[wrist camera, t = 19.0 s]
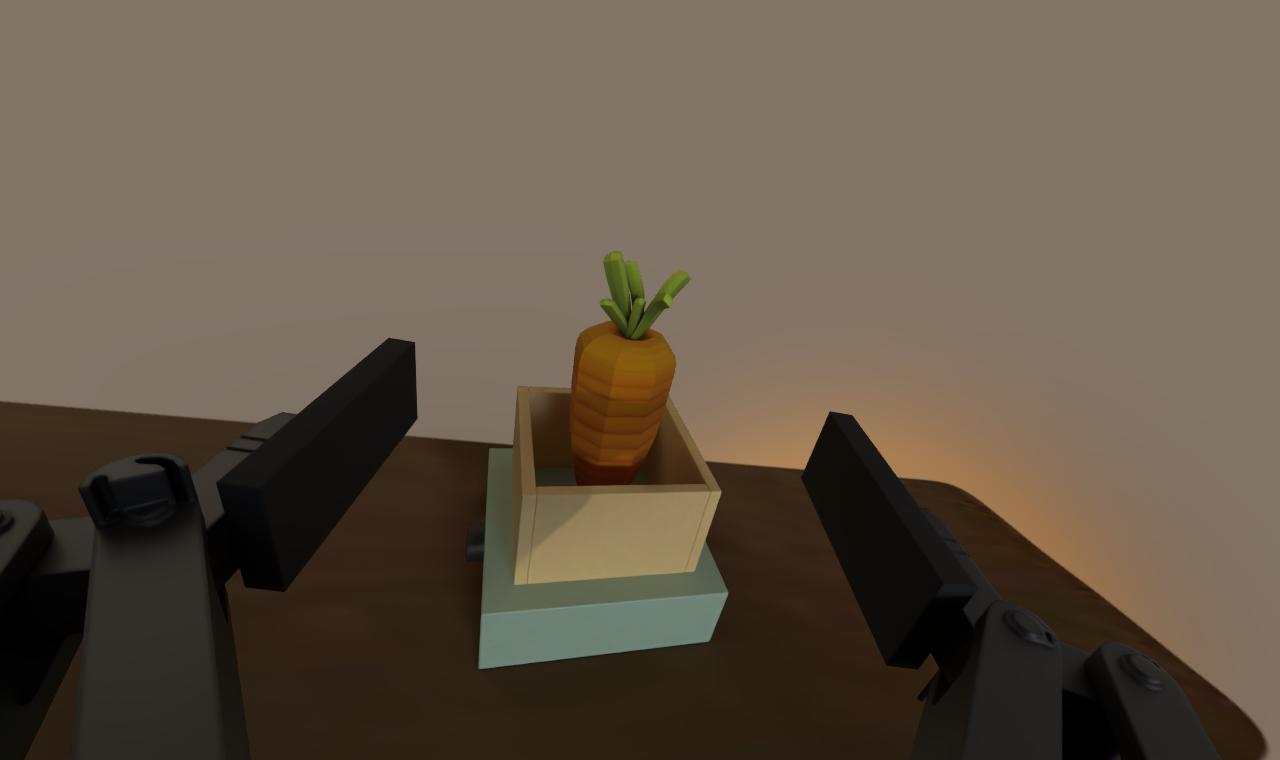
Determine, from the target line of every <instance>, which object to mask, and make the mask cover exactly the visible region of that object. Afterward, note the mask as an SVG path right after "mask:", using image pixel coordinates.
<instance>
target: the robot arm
mask: <svg viewBox="0 0 1280 760" xmlns="http://www.w3.org/2000/svg"><path fill="white" fill-rule="evenodd" d="M415 361H416V360H415V342H410V341H404V340H399V339H392V338H388V339H387V340H386V341H385V342H383V343H382V344H381V345H380V346H379V347H377V348H376V349H375V350H374V351H373V352H371V353H370V354H369V355H368V356H367V357H365V358H364V359H363V360H362V361H361V362H359V363H358V364H357V365H356V366H355V367H353V368H352V369H351V370H350V371H349V372H347V373H346V374H345V375H344V376H343V377H342V378H340V379H339V380H338V381H337V382H336V383H334V384H333V385H332V386H331V387H329V388H328V389H327V390H326V391H325V392H324V393H322V394H321V395H320V396H319V397H318V398H316V399H315V400H314V401H313V402H312V403H310V404H309V405H308V406H307V407H306V408H304V409H303V410H302V411H301V412H300V413H298V414H291V413H284V412H282V413H279V414H277V415H275V416H272V417H270V418H268V419H265V420H263V421H261V422H259V423H257V424H256V425H255V426H253V427H252V428H251V429H249V430H248V431H247V432H246V433H244V434H243V435H242V437H241V439H240V438H238V439H237V440H235V441H234V442H233V443H231V444H230V445H229V446H227V449H226V450H222V451H221V452H220V453H218V454H217V455H216V456H215V457H213V458H212V459H211V460H209V461H208V462H207V463H205V464H204V465H203V466H202V467H200V468H199V469H198V470H196V471H195V472H194V473H193V474H190V470H189V467H188V464H187V463H186V461H185V460H184V458H183V457H180V456H178V455H175V454H172V453H160V452H154V453H145V454H136V455H133V456H129V457H125V458H121V459H118V460H115V461H112V462H110V463H108V464H106V465H104V466H101V467H99V468H97V469H96V470H94V471H93V472H92V473H90V474H89V475H88V476H86V477H85V478H84V479H83V480H82V482H81V484H80V486H79V487H78V490H79V492H80V494H81V496H82V498H83V501H84V503H85V505H86V507H87V509H88V512H89V514H90V516H91V517H79V518H67V519H55V520H48V519H47V517H46V515H45V513H44V511H43V509H42V508H41V507H40V506H39V504H38V503H37V502H34V501H30V500H26V499H2V500H0V760H24V758H25V756H26V754H27V752H28V750H29V748H30V746H31V744H32V742H33V740H34V738H35V736H36V734H37V732H38V730H39V728H40V726H41V724H42V721H43V719H44V717H45V715H46V713H47V711H48V709H49V707H50V705H51V703H52V701H53V699H54V697H55V695H56V693H57V691H58V689H59V686H60V684H61V682H62V680H63V678H64V676H65V674H66V672H67V670H68V668H69V666H70V664H71V662H72V660H73V658H74V656H75V654H76V652H77V649H78V647H79V645H80V643H81V641H82V639H83V643H82V653H81V662H80V672H79V681H78V691H77V700H76V710H75V719H74V729H73V738H72V748H71V757H70V760H251V758H250V750H249V743H248V736H247V729H246V722H245V715H244V708H243V700H242V693H241V686H240V679H239V672H238V665H237V658H236V650H235V643H234V636H233V629H232V622H231V615H230V607H229V600H228V594H227V590H226V587H225V583H226V582H227V581H228V580H229V579H230V578H231V577H232V575H233V574H234V573H235V572H236V571H237V570H238V569H239V568H240V570H241V574H242V577H243V581H244V585H245V587H247V588H255V589H264V590H272V591H280V592H285V591H286V589H287V588H288V587H289V586H290V584H291V583H292V582H293V580H294V579H295V578H296V576H297V575H298V574H299V573H300V571H301V570H302V569H303V567H304V566H305V565H306V563H307V562H308V561H309V559H310V558H311V557H312V556H313V554H314V553H315V552H316V550H317V549H318V548H319V546H320V545H321V544H322V542H323V541H324V540H325V539H326V537H327V536H328V535H329V533H330V532H331V531H332V529H333V528H334V527H335V526H336V524H337V523H338V522H339V520H340V519H341V518H342V516H343V515H344V514H345V512H346V511H347V510H348V509H349V507H350V506H351V505H352V503H353V502H354V501H355V499H356V498H357V497H358V496H359V494H360V493H361V492H362V490H363V489H364V488H365V486H366V485H367V484H368V482H369V481H370V480H371V479H372V477H373V476H374V475H375V473H376V472H377V471H378V469H379V468H380V467H381V466H382V464H383V463H384V462H385V460H386V459H387V458H388V456H389V455H390V454H391V452H392V451H393V450H394V449H395V447H396V446H397V445H398V443H399V442H400V441H401V439H402V438H403V437H404V436H405V434H406V433H407V432H408V430H409V429H410V428H411V426H412V425H413V423H414V422H415V421H416V420H417V392H416V362H415ZM801 479H802V481H803V483H804V485H805V487H806V490H807V492H808V494H809V496H810V498H811V501H812V503H813V505H814V507H815V509H816V512H817V514H818V516H819V518H820V520H821V523H822V525H823V527H824V529H825V531H826V534H827V536H828V538H829V540H830V542H831V545H832V547H833V549H834V551H835V553H836V556H837V558H838V560H839V562H840V564H841V567H842V569H843V571H844V573H845V575H846V578H847V580H848V582H849V584H850V586H851V588H852V591H853V593H854V595H855V597H856V599H857V602H858V604H859V606H860V608H861V610H862V613H863V615H864V617H865V619H866V621H867V624H868V626H869V628H870V630H871V632H872V635H873V637H874V639H875V641H876V643H877V646H878V648H879V650H880V652H881V654H882V657H883V659H884V661H885V663H886V665H887V666H895V667H903V668H911V669H919V667H920V666H921V665H922V663H923V662H924V661H925V659H926V658H927V657H928V655H929V654H930V653H931V654H932V655H933V657H934V659H935V661H936V663H937V665H938V666H939V668H940V669H939V670H938V671H937V673H936V674H935V675H934V677H933V678H932V679H931V680H930V682H929V683H928V684H927V685H926V687H925V688H924V689H923V691H922V692H921V693H920V695H919V696H918V697H917V699H918V700H920V701H921V702H922V701H923V700H924V699H925V698H926V697H927V699H926V702H925V706H924V709H923V713H922V717H921V720H920V724H919V727H918V731H917V734H916V738H915V742H914V745H913V749H912V752H911V756H910V759H909V760H1117V759H1118V758H1120V757H1121V760H1221V758H1220V757H1219V755H1218V753H1217V751H1216V749H1215V748H1214V746H1213V744H1212V742H1211V740H1210V739H1209V737H1208V735H1207V733H1206V732H1205V730H1204V728H1203V726H1202V724H1201V723H1200V721H1199V719H1198V717H1197V715H1196V714H1195V712H1194V710H1193V708H1192V707H1191V705H1190V703H1189V701H1188V699H1187V698H1186V696H1185V694H1184V692H1183V691H1182V689H1181V688H1180V687H1179V685H1178V684H1177V683H1176V681H1175V680H1174V679H1173V678H1172V677H1171V676H1170V675H1169V674H1168V673H1167V672H1166V671H1165V670H1164V669H1163V668H1162V667H1161V666H1160V665H1159V664H1158V663H1156V662H1155V661H1154V660H1153V659H1152V660H1151V659H1150V657H1148V656H1147V655H1145V654H1143V653H1142V652H1139V651H1137V650H1135V649H1134V648H1132V647H1130V646H1128V645H1125V644H1122V643H1119V642H1116V641H1105V642H1104V643H1103V644H1102V645H1101V646H1100V647H1099V648H1098V649H1097V650H1096V651H1095V652H1094V653H1093V654H1091V653H1089V652H1086V651H1084V650H1081V649H1078V648H1076V647H1073V646H1071V645H1068V644H1066V643H1063V642H1060V641H1059V639H1058V638H1057V636H1056V635H1055V634H1054V632H1053V631H1052V629H1051V628H1050V627H1049V626H1048V625H1047V624H1045V623H1044V622H1043V621H1042V620H1041V619H1040V618H1039V617H1038V616H1036V615H1035V614H1033V613H1032V612H1030V611H1029V610H1027V609H1026V608H1024V607H1022V606H1019V605H1017V604H1015V603H1013V602H1009V601H1005V600H1003V599H1002V598H1001V597H1000V596H999V594H998V593H997V592H996V590H995V589H994V588H993V586H992V585H991V584H990V582H989V581H988V580H987V579H986V577H985V576H984V575H983V573H982V572H981V571H980V569H979V568H978V567H977V565H976V564H975V563H974V562H973V560H972V559H971V558H970V556H969V555H966V551H965V550H964V548H963V547H962V546H961V544H960V543H959V542H956V538H955V537H954V535H953V534H952V533H951V531H950V530H949V529H948V527H947V526H946V525H945V524H944V523H943V522H942V521H941V520H940V519H939V518H937V517H936V516H935V515H934V514H933V513H931V512H930V511H929V510H928V509H926V508H920V507H919V506H918V505H917V503H916V502H915V500H914V499H913V498H912V496H911V495H910V494H909V492H908V491H907V489H906V488H905V487H904V485H903V484H902V483H901V481H900V480H899V479H898V477H897V476H896V474H895V473H894V472H893V470H892V469H891V468H890V466H889V465H888V464H887V462H886V461H885V459H884V458H883V457H882V455H881V454H880V453H879V451H878V450H877V448H876V447H875V446H874V444H873V443H872V442H871V440H870V439H869V437H868V436H867V435H866V434H865V432H864V431H863V429H862V428H861V427H860V425H859V424H858V422H857V421H856V420H855V418H854V417H853V416H852V415H848V414H842V413H836V412H829V415H828V417H827V419H826V422H825V424H824V426H823V428H822V431H821V433H820V435H819V438H818V440H817V442H816V445H815V447H814V449H813V452H812V454H811V456H810V458H809V461H808V463H807V465H806V468H805V470H804V472H803V475H802V477H801Z"/></svg>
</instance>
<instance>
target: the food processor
mask: <svg viewBox="0 0 1280 760" xmlns="http://www.w3.org/2000/svg"><path fill="white" fill-rule="evenodd" d="M570 400H571V388H548V387H525V386H524V387H523V386H518V390H517V403H516V416H515V429H514V442H513V449H503V448H490V449H489V462H488V482H487V502H486V522H485V523H480V524H469V525H468V534H467V550H466V561H467V562H475V561H484V562H483V583H482V603H481V623H480V643H479V663H478V668H479V669H484V668H493V667H501V666H509V665H518V664H526V663H534V662H543V661H551V660H559V659H567V658H576V657H584V656H592V655H601V654H609V653H617V652H626V651H634V650H642V649H650V648H659V647H667V646H675V645H684V644H692V643H700V642H708V641H710V638H711V636H712V633H713V631H714V628H715V626H716V623H717V621H718V618H719V616H720V613H721V611H722V608H723V606H724V603H725V601H726V598H727V596H728V590H727V588H726V586H725V584H724V582H723V579H722V577H721V575H720V573H719V570H718V568H717V566H716V564H715V562H714V559H713V557H712V555H711V553H710V550H709V548H708V546H707V544H706V542H705V539H706V536H707V533H708V530H709V527H710V524H711V521H712V519H713V516H714V513H715V510H716V507H717V504H718V501H719V498H720V495H721V490H720V488H719V486H718V484H717V483H716V481H715V479H714V477H713V475H712V473H711V472H710V470H709V468H708V466H707V464H706V462H705V461H704V459H703V457H702V455H701V453H700V451H699V450H698V448H697V446H696V444H695V442H694V441H693V439H692V437H691V435H690V434H689V431H688V430H687V428H686V426H685V424H684V422H683V420H682V419H681V417H680V415H679V413H678V411H677V410H676V408H675V406H674V404H673V402H672V400H671V399H670V397H669V395H668V398H667V402H666V406H665V409H664V412H663V415H662V418H661V421H660V425H659V428H658V431H657V434H656V437H655V439H654V441H653V443H652V445H651V448H650V450H649V452H648V454H647V456H646V458H645V460H644V462H643V464H642V466H641V468H640V470H639V472H638V474H637V475H636V477H635V479H634V480H633V481H632V483H631V484H630V485H611V486H577V483H576V479H575V474H574V466H573V457H572V446H571V433H570Z"/></svg>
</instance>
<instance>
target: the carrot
mask: <svg viewBox="0 0 1280 760" xmlns="http://www.w3.org/2000/svg"><path fill="white" fill-rule="evenodd" d="M603 263H604V268H605V273H606V277H607V281H608V284H609V288H610V291H611V295H612V299H613V300H610V299H603V300H601V301H600V306H601V307H602V308H603V310H604V311H605V312H606V314H607V315H608V316H609V317H610V319H611V320H612V321H607V322H604V323H601V324H598V325H595V326H593V327H589V328H587V329H586V330H584V331H583V332H581V333H580V335H579V337H578V340H577V343H576V347H575V357H574V366H573V375H572V386H571V400H570V433H571V446H572V457H573V466H574V474H575V479H576V483H577V486H611V485H630V484H631V483H632V481H633V480H634V479H635V477H636V475H637V474H638V472H639V470H640V468H641V466H642V464H643V462H644V460H645V458H646V456H647V454H648V452H649V450H650V448H651V445H652V443H653V441H654V439H655V437H656V434H657V431H658V428H659V425H660V421H661V418H662V415H663V412H664V409H665V406H666V402H667V398H668V395H669V391H670V387H671V384H672V380H673V377H674V373H675V367H676V361H675V355H674V354H673V352H672V350H671V349H670V347H669V345H668V343H667V342H666V340H665V338H664V337H663V335H662V334H660V333H658V332H657V331H654V330H652V329H650V326H651V325H652V324H653V323H654V322H655V320H656V319H657V318H658V317H659V315H660V314H661V313H662V312H663V310H664V309H666V308H669V307H670V306H671V305H672V303H673V298H674V297H675V295H676V294H677V293H678V292H679V291H680V290H681V289H682V288H683V287H684V286H685V285H686V284H687V283H688V282H689V281H690V280H691V279H690V276H689V275H688V274H687V273H686V272H684V271H682V270H680V269H679V270H677V271H676V272H675V273H674V274H672V275H671V276H670V277H669V279H668V280H667V281H666V282H665V283H664V284H663V285H662V287H661V289H660V290H659V292H658V293H657V295H656V297H655V298H654V299H653V301H652V302H651V303H650V304H649V306H648V308H647V310H646V311H645V312H644V307H645V304H646V301H645V300H644V288H643V284H642V279H641V275H640V272H639V269H638V266H637V263H636V262H633V261H628V262H626V263H624V260H623V257H622V252H619V251H613V252H611V253H609V254H607V255H606V256H605V257H604V261H603ZM628 285H629V286H628ZM629 289H630V292H631V299H632V312H631V302H630V294H629Z"/></svg>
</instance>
